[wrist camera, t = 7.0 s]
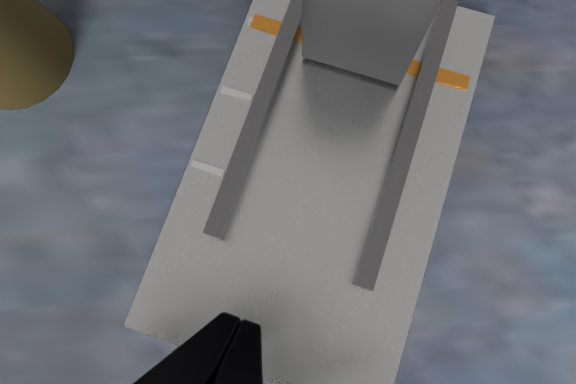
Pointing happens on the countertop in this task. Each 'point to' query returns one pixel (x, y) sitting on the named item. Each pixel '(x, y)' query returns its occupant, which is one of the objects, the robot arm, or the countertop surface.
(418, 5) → the fader tab
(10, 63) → the cork
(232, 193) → the plate
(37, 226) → the countertop surface
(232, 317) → the robot arm
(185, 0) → the countertop surface
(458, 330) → the countertop surface
